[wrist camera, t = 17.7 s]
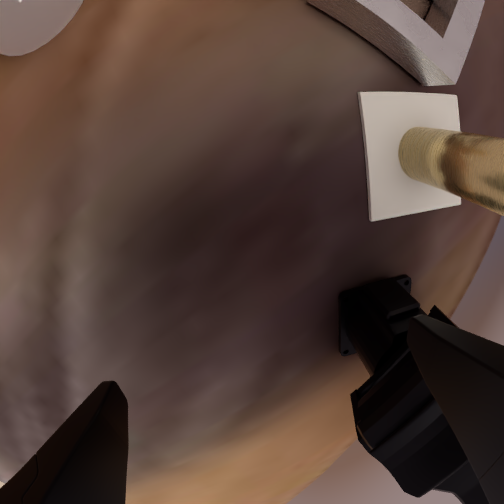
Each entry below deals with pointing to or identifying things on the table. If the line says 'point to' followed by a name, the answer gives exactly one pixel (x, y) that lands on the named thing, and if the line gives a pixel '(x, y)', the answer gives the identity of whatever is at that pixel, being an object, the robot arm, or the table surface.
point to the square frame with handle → (414, 33)
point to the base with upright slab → (32, 23)
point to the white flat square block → (387, 145)
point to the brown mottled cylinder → (456, 164)
